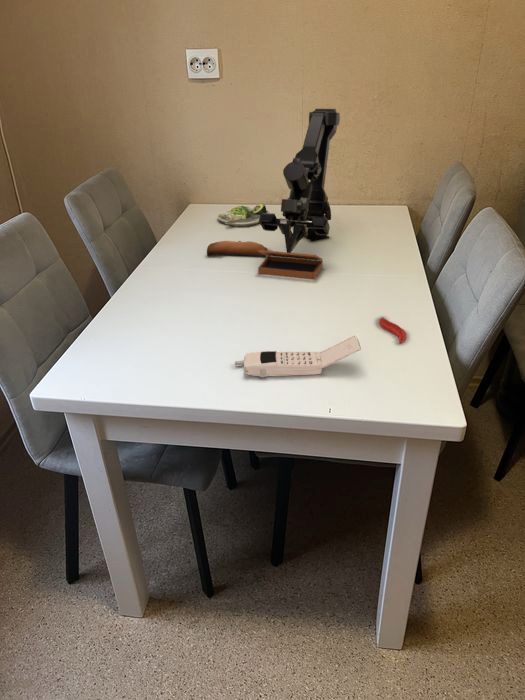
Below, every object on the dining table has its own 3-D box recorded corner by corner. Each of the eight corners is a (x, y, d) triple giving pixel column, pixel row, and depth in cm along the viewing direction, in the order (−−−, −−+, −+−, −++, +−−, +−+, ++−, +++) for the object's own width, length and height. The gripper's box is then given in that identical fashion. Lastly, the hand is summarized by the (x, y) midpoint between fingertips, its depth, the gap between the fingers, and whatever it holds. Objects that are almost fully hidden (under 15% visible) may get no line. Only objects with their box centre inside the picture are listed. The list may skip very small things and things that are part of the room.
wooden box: (314, 281, 150) (315, 273, 149) (258, 276, 155) (258, 267, 154) (322, 269, 158) (322, 260, 156) (268, 264, 162) (267, 255, 161)
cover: (315, 256, 147) (315, 254, 147) (257, 251, 152) (258, 249, 152) (322, 260, 156) (322, 259, 156) (267, 255, 161) (268, 254, 161)
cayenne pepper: (409, 343, 121) (410, 335, 120) (388, 344, 121) (389, 336, 120) (396, 317, 132) (397, 310, 131) (376, 318, 132) (377, 311, 131)
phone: (312, 277, 151) (312, 274, 151) (262, 272, 155) (262, 269, 155) (318, 267, 157) (318, 264, 156) (270, 263, 161) (270, 260, 160)
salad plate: (244, 233, 185) (243, 219, 183) (205, 223, 195) (204, 210, 193) (279, 217, 198) (279, 204, 196) (241, 209, 208) (240, 196, 205)
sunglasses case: (270, 247, 172) (268, 233, 166) (267, 266, 168) (265, 252, 163) (213, 246, 175) (209, 231, 169) (209, 264, 171) (205, 250, 166)
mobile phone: (362, 349, 108) (232, 353, 109) (360, 375, 111) (234, 379, 112) (357, 334, 114) (233, 338, 114) (355, 359, 117) (235, 363, 117)
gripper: (259, 183, 149) (247, 237, 146) (328, 186, 144) (317, 242, 141) (269, 203, 160) (258, 254, 157) (333, 207, 155) (324, 260, 151)
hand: (288, 252), depth 151 cm, fingers closed, pressing on cover
